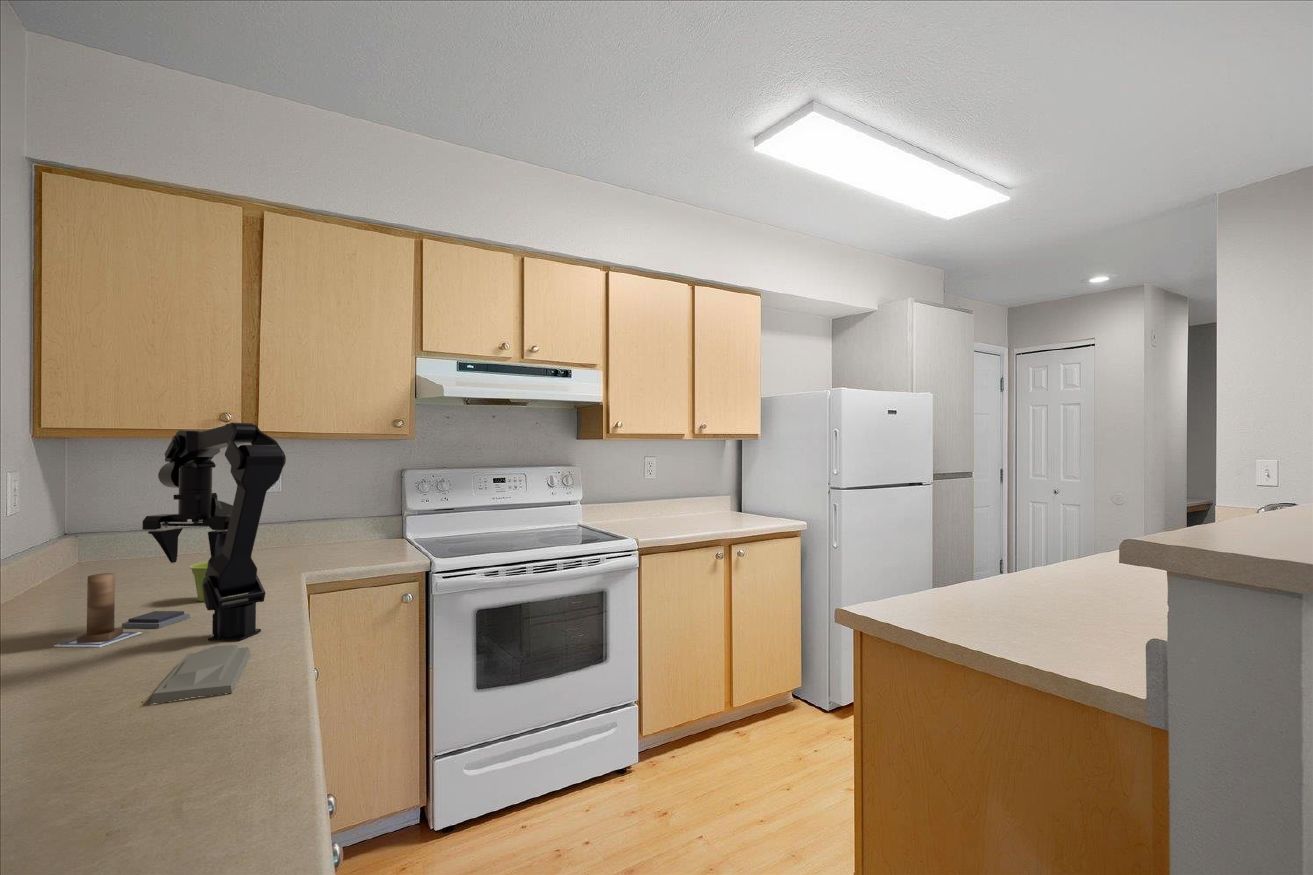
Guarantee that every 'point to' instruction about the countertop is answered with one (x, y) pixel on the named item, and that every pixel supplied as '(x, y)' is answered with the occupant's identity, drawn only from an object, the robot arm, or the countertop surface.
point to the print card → (97, 644)
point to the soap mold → (204, 674)
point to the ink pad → (156, 619)
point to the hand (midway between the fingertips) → (194, 562)
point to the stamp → (100, 609)
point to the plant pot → (199, 578)
